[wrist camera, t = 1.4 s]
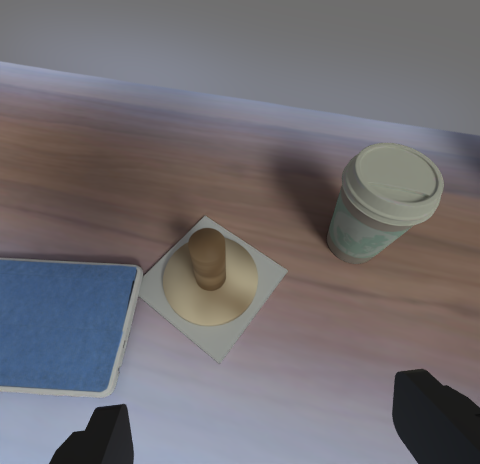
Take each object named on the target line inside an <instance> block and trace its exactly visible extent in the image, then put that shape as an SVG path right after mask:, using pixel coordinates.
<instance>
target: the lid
mask: <svg viewBox="0 0 480 464" xmlns="http://www.w3.org/2000/svg"><path fill="white" fill-rule="evenodd" d="M257 285H258V272H257V267H256V264H255V262H254V260H253V258H252V256H251V255H250V254H249V252H248V251H247V250H246V249H245V248H244V247H242V246H241V245H240V244H238V243H237V242H235V241H233V240H230V239H227V238H224V236H223V235H222V234H221V233H220V232H219V231H218V230H216V229H213V228H202V229H199V230H197V231H196V232H194V233H193V234H192V235H191V237H190V238H189V241H188V243H186V244H184V245H183V246H181V247H180V248H179V249H178V250H177V251H176V252H175V253H174V254H173V255H172V256H171V258H170V259H169V261H168V263H167V265H166V268H165V270H164V275H163V289H164V293H165V296H166V299H167V301H168V303H169V304H170V306H171V308H172V309H173V310H174V311H175V313H177V314H178V315H179V316H180V317H181V318H183V319H184V320H186V321H188V322H190V323H193V324H195V325H200V326H218V325H223V324H226V323H229V322H231V321H233V320H235V319H236V318H238V317H239V316H240V315H242V314H243V313H244V312H245V311H246V310H247V309H248V307H249V306H250V304H251V303H252V301H253V299H254V297H255V294H256V290H257Z"/></svg>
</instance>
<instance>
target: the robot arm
mask: <svg viewBox="0 0 480 464" xmlns="http://www.w3.org/2000/svg"><path fill="white" fill-rule="evenodd" d="M392 417H393V422H394V426H395V429H396V431H397V433H398V435H399V437H400V438H401V440H402V441H403V443H404V444H405V446H406V447H407V448H408V450H409V451H410V453H411V454H412V455H413V457H414V458H415V460H416V461H417V462H418V464H480V408H479V407H478V406H477V405H476V404H475V403H474V402H473V401H471V400H470V399H469V398H468V397H466V396H465V395H463V394H461V393H459V392H458V391H456V390H454V389H452V388H451V387H449V386H447V385H445V386H443V385H442V384H441V383H440V382H439V381H438V380H436V379H435V378H434V377H433V376H432V375H431V374H430V373H429V372H428V371H426V370H424V369H417V370H408V371H400V372H397V373H396V375H395V383H394V397H393V410H392ZM133 460H134V450H133V442H132V436H131V429H130V422H129V416H128V410H127V406H126V405H125V404H120V405H112V406H104V407H97V408H96V409H95V410H94V412H93V414H92V416H91V418H90V421H89V423H88V425H87V427H86V429H85V431H77V432H73V433H72V434H71V435H70V436H69V437H68V438H67V440H66V441H65V442H64V443H63V444H62V445H61V446H60V447H59V448H58V449H57V450H56V451H55V453H54V455H53V457H52V459H51V461H50V463H49V464H133Z"/></svg>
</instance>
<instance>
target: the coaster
mask: <svg viewBox="0 0 480 464" xmlns="http://www.w3.org/2000/svg"><path fill="white" fill-rule="evenodd" d="M202 228H213V229H216V230H218V231H219V232H220V233H221V234H222V235H223V236H224V238H227V239H230V240H233V241H235V242H237V243H238V244H240V245H241V246H242V247H244V248H245V249H246V250H247V251H248V252H249V254H250V255H251V256H252V258H253V260H254V262H255V264H256V267H257V272H258V285H257V290H256V294H255V297H254V299H253V301H252V303H251V304H250V306H249V307H248V309H247V310H246V311H245V312H244V313H243V314H242V315H240V316H239V317H238V318H236V319H235V320H233V321H231V322H229V323H226V324H223V325H218V326H200V325H195V324H193V323H190V322H188V321H186V320H184V319H183V318H181V317H180V316H179V315H178V314H177V313H175V311H174V310H173V309H172V308H171V306H170V304H169V303H168V301H167V299H166V296H165V293H164V289H163V275H164V270H165V268H166V265H167V263H168V261H169V259H170V258H171V256H172V255H173V254H174V253H175V252H176V251H177V250H178V249H179V248H180V247H181V246H183V245H184V244H186V243H188V241H189V238H190V237H191V235H192V234H193V233H194V232H196V231H197V230H199V229H202ZM287 271H288V270H286V269H285V268H283V267H282V266H280V265H279V264H277V263H276V262H274V261H273V260H271V259H270V258H268V257H267V256H265V255H264V254H262V253H261V252H259V251H258V250H256V249H255V248H253V247H252V246H250V245H249V244H247V243H246V242H244V241H243V240H241V239H240V238H238V237H237V236H235V235H234V234H232V233H231V232H229V231H228V230H226V229H224V228H223V227H221V226H220V225H218V224H217V223H215V222H214V221H212V220H211V219H209V218H208V217H206V216H204V217H203V218H202V219H201V220H200V221H199V222H198V223H197V224H196V225H195V226H194V227H193V228H192V229H191V230H190V231H189V232H188V233H187V234H186V235H185V236H184V237H183V238H182V239H181V240H180V241H179V242H178V243H177V244H176V245H175V246H174V247H173V248H172V249H171V250H170V251H169V252H168V253H167V254H166V255H165V256H164V257H163V258H162V259H161V260H160V261H159V262H157V263H156V264H155V265H154V266H153V267H152V268H151V269H150V270H149V271H148V272H147V273H146V274H145V275H144V276H143V278H142V282H141V287H140V291H139V295H138V296H139V297H140V298H141V299H142V300H144V301H145V302H146V303H147V304H148V305H150V306H151V307H152V308H153V309H154V310H156V311H157V312H158V313H159V314H160V315H161V316H163V317H164V318H165V319H166V320H167V321H169V322H170V323H171V324H172V325H173V326H175V327H176V328H177V329H178V330H179V331H181V332H182V333H183V334H184V335H185V336H186V337H188V338H189V339H190V340H191V341H192V342H194V343H195V344H196V345H197V346H198V347H200V348H201V349H202V350H203V351H204V352H206V353H207V354H208V355H209V356H210V357H211V358H213V359H214V360H215V361H216V362H217V363H219V364H220V363H221V362H222V360H223V359H224V358H225V356H226V355H227V353H228V352H229V351H230V349H231V348H232V347H233V345H234V344H235V343H236V341H237V340H238V338H239V337H240V336H241V334H242V333H243V332H244V330H245V329H246V328H247V326H248V325H249V323H250V322H251V321H252V319H253V318H254V317H255V315H256V314H257V313H258V311H259V310H260V308H261V307H262V306H263V304H264V303H265V302H266V300H267V299H268V298H269V296H270V295H271V293H272V292H273V291H274V289H275V288H276V287H277V285H278V284H279V283H280V281H281V280H282V278H283V277H284V276H285V274H286V273H287Z"/></svg>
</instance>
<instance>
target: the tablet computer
mask: <svg viewBox="0 0 480 464" xmlns="http://www.w3.org/2000/svg"><path fill="white" fill-rule="evenodd" d="M142 278H143V270H142V268H141V267H139V266H137V265H132V264H112V263H93V262H73V261H56V260H37V259H19V258H0V392H15V393H31V394H39V395H54V396H71V397H95V398H104V397H107V396H109V395H111V394H112V392H113V391H114V389H115V387H116V384H117V380H118V376H119V373H120V372H119V368H120V367H121V365H122V361H123V357H124V353H125V349H126V345H127V341H128V337H129V334H130V329H131V325H132V321H133V317H134V313H135V308H136V304H137V300H138V295H139V291H140V287H141V282H142Z"/></svg>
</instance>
